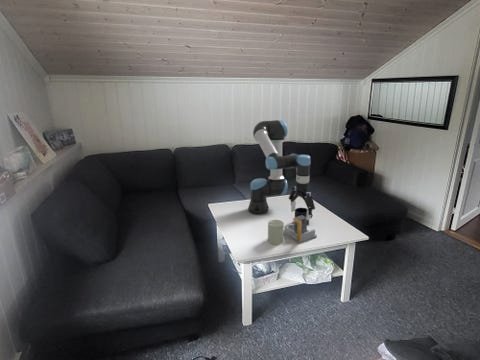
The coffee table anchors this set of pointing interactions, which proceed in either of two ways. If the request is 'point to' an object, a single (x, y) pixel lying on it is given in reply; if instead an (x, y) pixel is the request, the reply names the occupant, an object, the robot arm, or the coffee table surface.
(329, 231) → the coffee table surface
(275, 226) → the can
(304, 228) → the dark gray box
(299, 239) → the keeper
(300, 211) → the mug
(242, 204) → the coffee table surface
